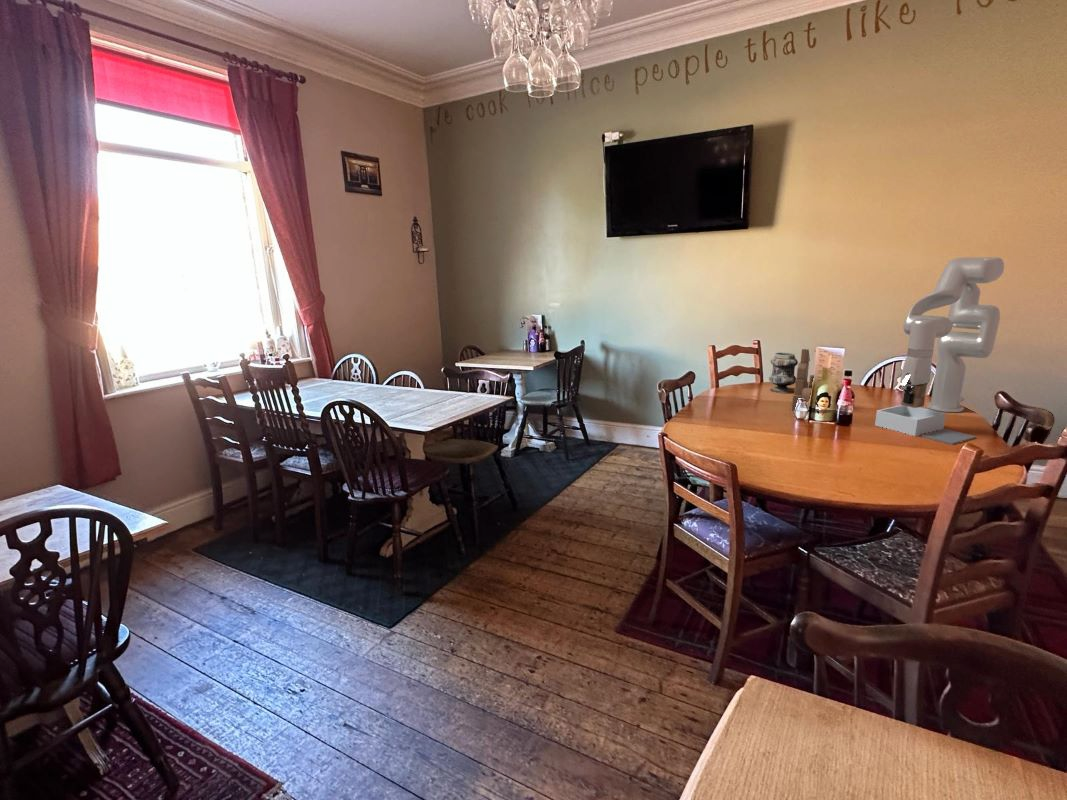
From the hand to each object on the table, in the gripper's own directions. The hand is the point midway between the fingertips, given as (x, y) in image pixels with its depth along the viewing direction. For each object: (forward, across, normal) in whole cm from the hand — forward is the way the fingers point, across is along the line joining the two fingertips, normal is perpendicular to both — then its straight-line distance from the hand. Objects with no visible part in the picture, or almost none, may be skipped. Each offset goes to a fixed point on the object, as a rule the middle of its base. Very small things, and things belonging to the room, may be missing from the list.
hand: (912, 401), depth 199 cm
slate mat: (+10, +1, +14) cm, 17 cm away
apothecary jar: (+10, -5, -63) cm, 64 cm away
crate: (+10, +1, 0) cm, 10 cm away
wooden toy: (+10, +10, -38) cm, 40 cm away
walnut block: (+1, 0, 0) cm, 1 cm away
